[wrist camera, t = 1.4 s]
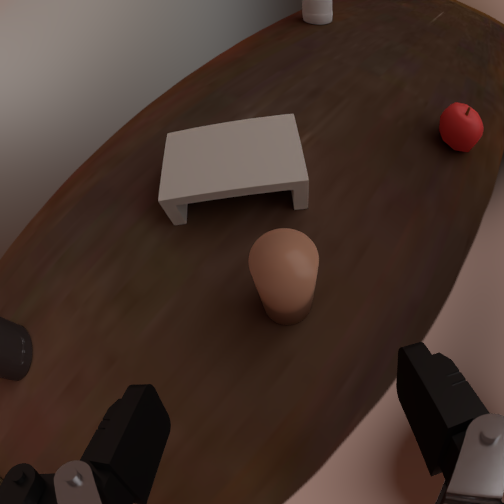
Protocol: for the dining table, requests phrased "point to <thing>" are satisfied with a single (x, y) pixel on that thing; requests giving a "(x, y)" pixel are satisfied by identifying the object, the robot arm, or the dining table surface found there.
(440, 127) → the apple
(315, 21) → the bottle
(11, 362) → the robot arm
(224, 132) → the white channel block
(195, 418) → the dining table surface
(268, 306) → the tan rounded-top cylinder
